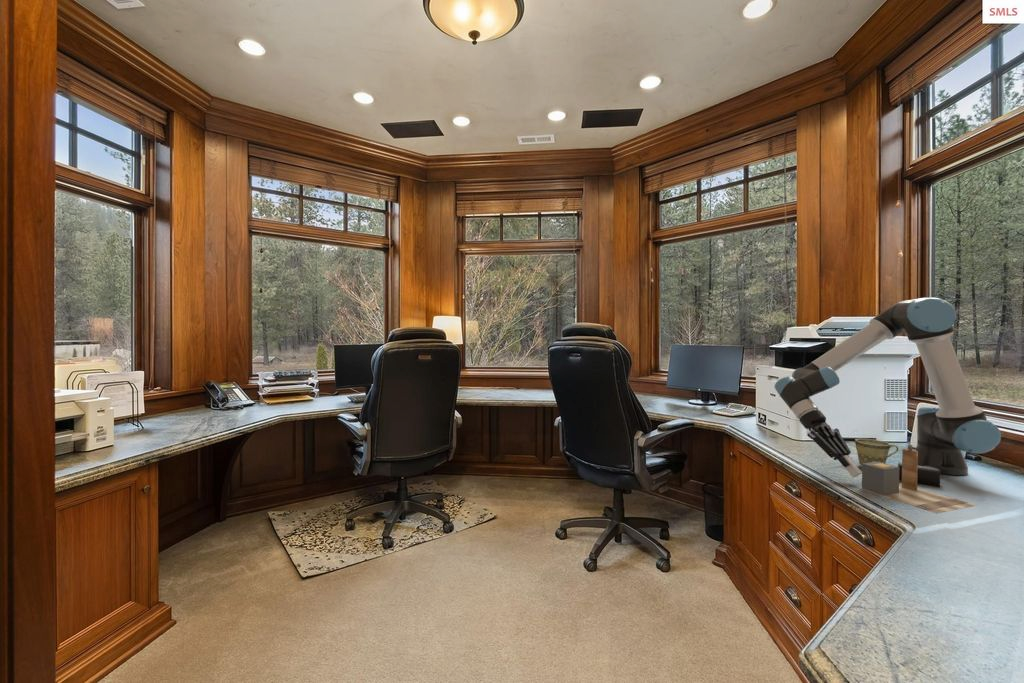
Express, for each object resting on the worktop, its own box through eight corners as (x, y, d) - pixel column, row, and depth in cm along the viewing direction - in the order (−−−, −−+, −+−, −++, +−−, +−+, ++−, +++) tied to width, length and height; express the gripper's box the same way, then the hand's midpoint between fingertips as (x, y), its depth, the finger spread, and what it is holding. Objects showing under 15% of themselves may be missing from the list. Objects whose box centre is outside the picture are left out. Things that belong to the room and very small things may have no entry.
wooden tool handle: (906, 485, 137) (907, 443, 136) (919, 489, 133) (920, 446, 133) (898, 486, 136) (899, 444, 135) (912, 490, 132) (913, 447, 132)
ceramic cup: (862, 471, 155) (863, 444, 154) (849, 463, 164) (850, 437, 164) (905, 474, 151) (906, 446, 151) (890, 466, 160) (890, 440, 160)
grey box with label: (876, 486, 136) (877, 460, 135) (898, 493, 130) (899, 466, 130) (861, 488, 133) (862, 462, 133) (883, 495, 128) (883, 468, 128)
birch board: (898, 486, 139) (898, 482, 139) (976, 509, 121) (976, 504, 121) (860, 492, 133) (860, 488, 133) (936, 517, 115) (936, 512, 115)
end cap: (897, 484, 141) (898, 464, 141) (898, 479, 146) (898, 459, 146) (940, 492, 134) (940, 471, 134) (939, 486, 139) (939, 466, 139)
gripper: (814, 419, 158) (862, 478, 142) (788, 421, 154) (834, 482, 138) (829, 407, 152) (880, 467, 137) (802, 409, 149) (852, 471, 133)
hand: (857, 475), depth 138 cm, fingers closed
